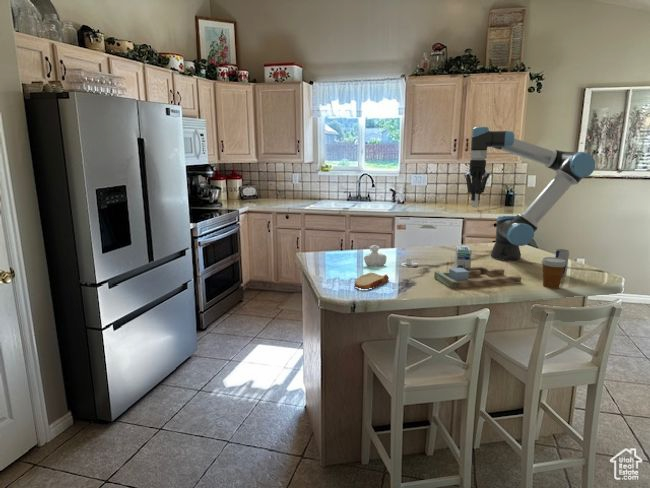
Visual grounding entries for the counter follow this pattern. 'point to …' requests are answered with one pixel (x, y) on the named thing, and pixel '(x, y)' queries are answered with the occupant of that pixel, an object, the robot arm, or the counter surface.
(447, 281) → the trap lane
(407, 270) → the counter surface
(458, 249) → the light bulb box
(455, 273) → the cube
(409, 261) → the teacup and saucer
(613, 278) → the counter surface
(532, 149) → the robot arm
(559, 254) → the energy drink
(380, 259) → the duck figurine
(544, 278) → the disposable coffee cup
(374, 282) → the bread slice
